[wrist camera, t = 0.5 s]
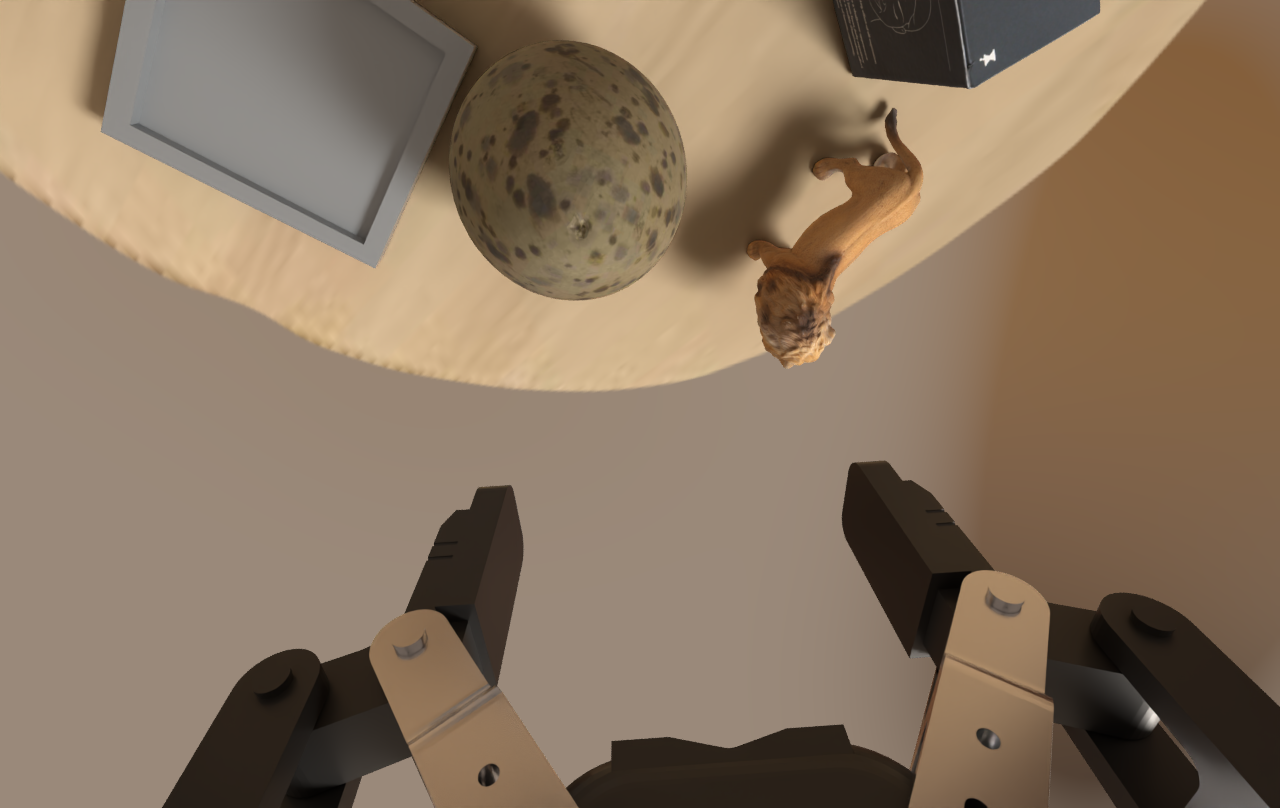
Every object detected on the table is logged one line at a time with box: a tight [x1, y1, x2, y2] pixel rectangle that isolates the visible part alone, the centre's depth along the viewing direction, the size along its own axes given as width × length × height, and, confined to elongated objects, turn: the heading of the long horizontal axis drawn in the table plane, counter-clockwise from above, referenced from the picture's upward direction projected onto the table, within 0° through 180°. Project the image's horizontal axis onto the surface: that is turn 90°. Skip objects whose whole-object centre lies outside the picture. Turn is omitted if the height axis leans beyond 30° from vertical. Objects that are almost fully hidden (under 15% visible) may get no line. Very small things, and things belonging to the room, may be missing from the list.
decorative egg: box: [449, 41, 687, 300], centre depth 25 cm, size 11×11×15 cm
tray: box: [101, 0, 478, 268], centre depth 27 cm, size 13×13×2 cm
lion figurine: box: [747, 108, 923, 369], centre depth 32 cm, size 15×5×9 cm, turn 149°
